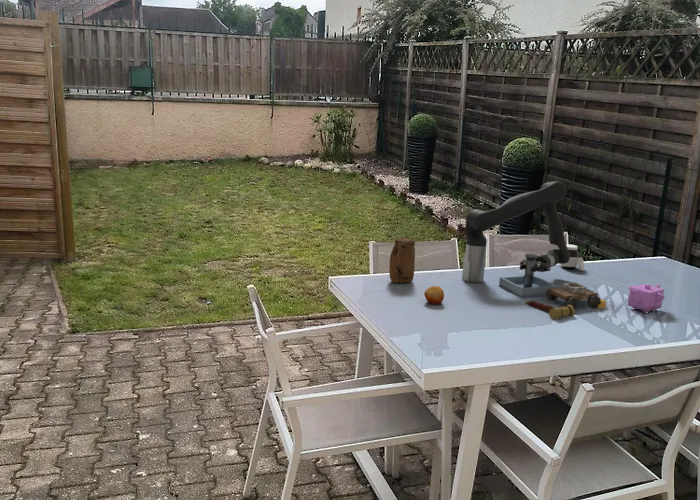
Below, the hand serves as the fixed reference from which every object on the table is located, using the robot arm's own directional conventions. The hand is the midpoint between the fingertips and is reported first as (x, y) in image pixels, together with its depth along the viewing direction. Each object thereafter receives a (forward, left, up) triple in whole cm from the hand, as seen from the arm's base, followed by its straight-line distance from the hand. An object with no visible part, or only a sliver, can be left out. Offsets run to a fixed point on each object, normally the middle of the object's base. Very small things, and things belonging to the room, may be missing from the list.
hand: (526, 268), depth 280 cm
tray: (+2, +1, -10) cm, 11 cm away
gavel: (-7, -25, -11) cm, 28 cm away
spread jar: (+48, +29, -11) cm, 57 cm away
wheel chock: (+20, -26, -10) cm, 34 cm away
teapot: (+35, -34, -11) cm, 50 cm away
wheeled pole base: (+10, -20, -10) cm, 25 cm away
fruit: (-48, -6, -11) cm, 49 cm away
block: (-49, +26, -11) cm, 56 cm away
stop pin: (+2, +1, -9) cm, 10 cm away
